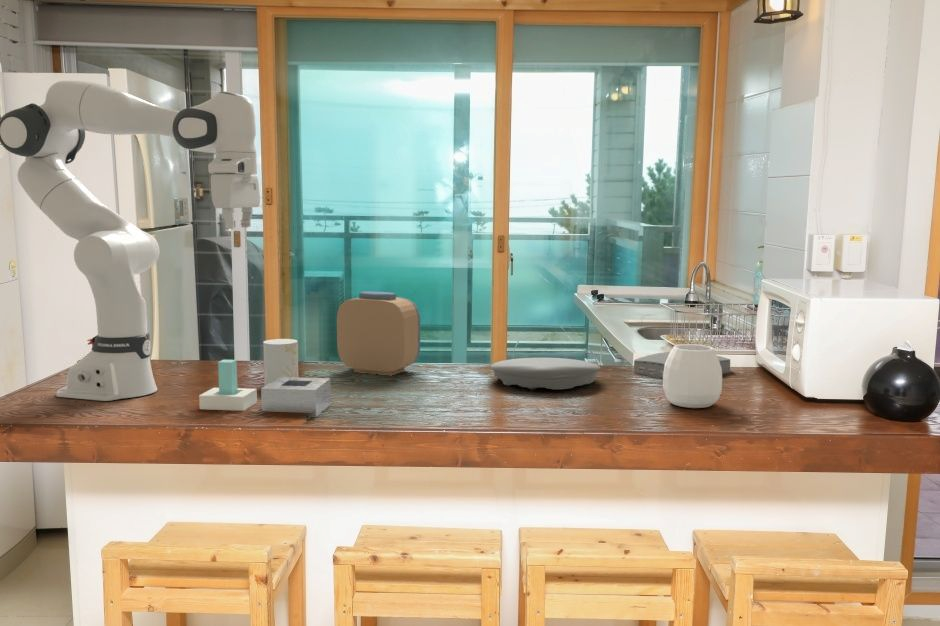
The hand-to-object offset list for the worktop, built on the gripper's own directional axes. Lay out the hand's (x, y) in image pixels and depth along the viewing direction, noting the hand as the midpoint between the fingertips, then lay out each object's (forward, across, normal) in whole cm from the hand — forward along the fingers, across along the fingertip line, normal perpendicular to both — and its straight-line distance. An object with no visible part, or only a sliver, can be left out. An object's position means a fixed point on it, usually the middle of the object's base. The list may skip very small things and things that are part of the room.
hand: (238, 228), depth 195 cm
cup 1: (+40, -12, +5) cm, 42 cm away
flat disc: (+40, -28, +69) cm, 85 cm away
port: (+40, +7, +15) cm, 43 cm away
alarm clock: (+40, -37, +24) cm, 59 cm away
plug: (+39, +9, 0) cm, 40 cm away
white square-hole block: (+40, +9, 0) cm, 41 cm away
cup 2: (+40, -8, +103) cm, 111 cm away
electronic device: (+40, -47, +106) cm, 122 cm away
